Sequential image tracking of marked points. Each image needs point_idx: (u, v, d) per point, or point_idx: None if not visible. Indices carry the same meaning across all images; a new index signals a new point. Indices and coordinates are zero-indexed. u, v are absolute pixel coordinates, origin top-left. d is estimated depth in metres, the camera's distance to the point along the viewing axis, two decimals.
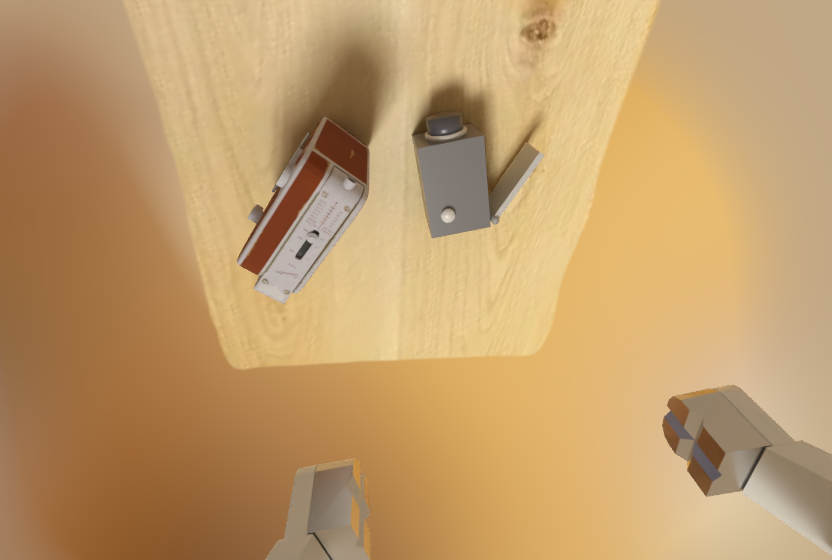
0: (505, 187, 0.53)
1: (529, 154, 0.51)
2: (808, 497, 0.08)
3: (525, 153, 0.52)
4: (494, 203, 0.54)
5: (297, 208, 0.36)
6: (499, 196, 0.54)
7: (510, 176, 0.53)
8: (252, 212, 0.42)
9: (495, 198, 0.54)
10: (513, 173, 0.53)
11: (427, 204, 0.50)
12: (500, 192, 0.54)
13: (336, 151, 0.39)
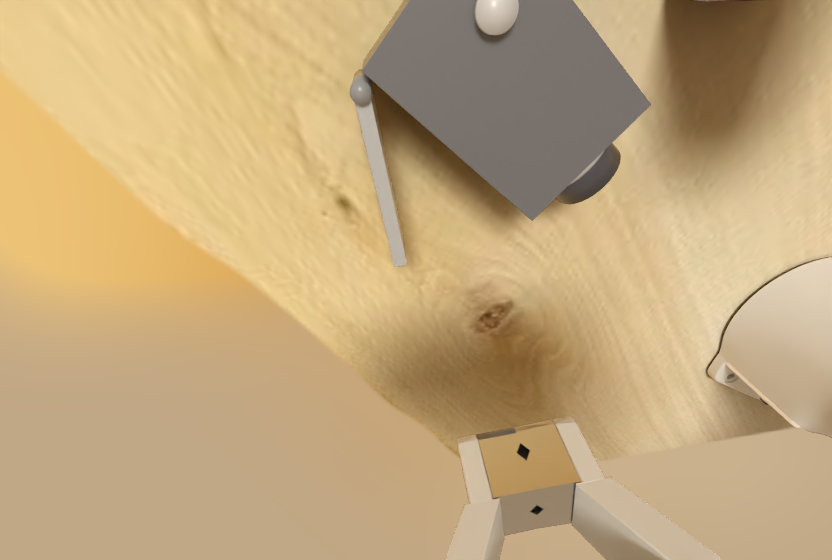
0: (385, 159, 0.23)
1: (402, 237, 0.26)
2: (611, 534, 0.08)
3: (400, 226, 0.26)
4: (375, 113, 0.21)
5: None
6: None
7: None
8: None
9: (377, 121, 0.22)
10: (392, 189, 0.24)
11: None
12: (381, 140, 0.23)
13: None
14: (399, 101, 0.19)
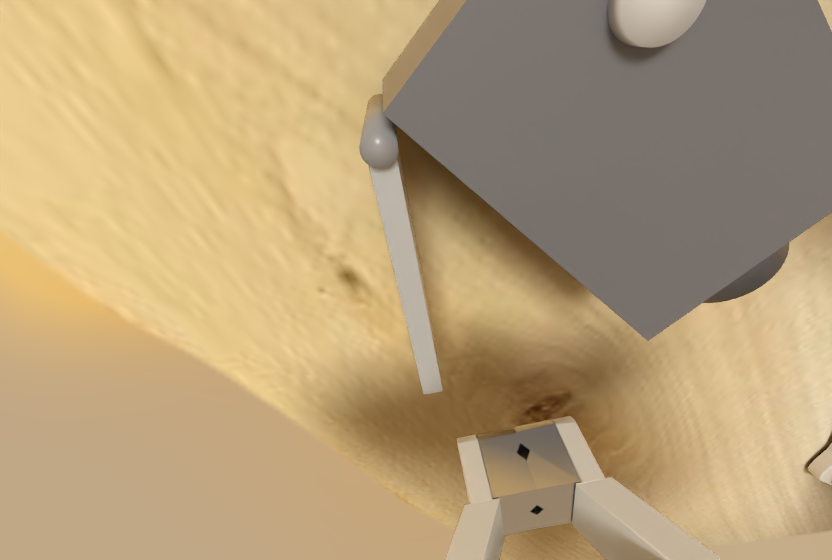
0: None
1: (434, 341, 0.17)
2: (611, 534, 0.08)
3: (430, 320, 0.18)
4: None
5: None
6: (407, 202, 0.14)
7: None
8: None
9: None
10: (421, 275, 0.16)
11: None
12: (408, 209, 0.14)
13: None
14: (449, 165, 0.10)
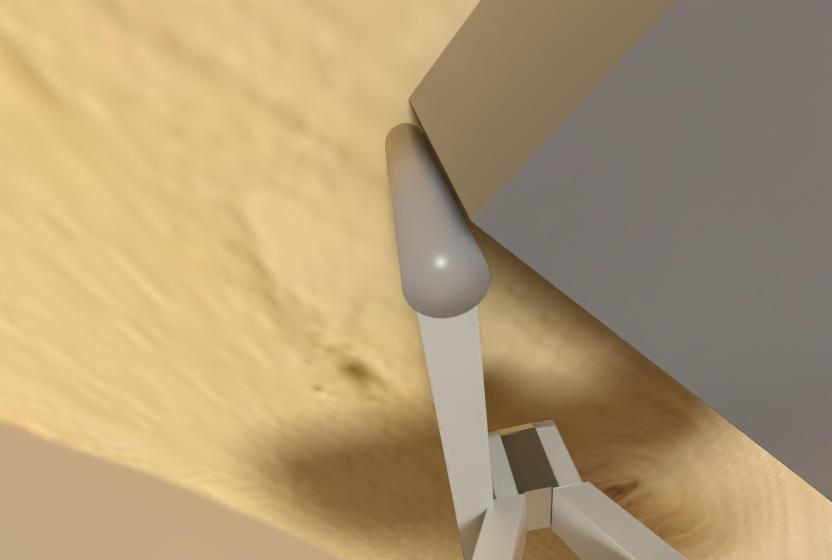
0: None
1: None
2: (587, 539, 0.08)
3: None
4: None
5: None
6: None
7: None
8: None
9: None
10: None
11: None
12: None
13: None
14: (610, 318, 0.04)
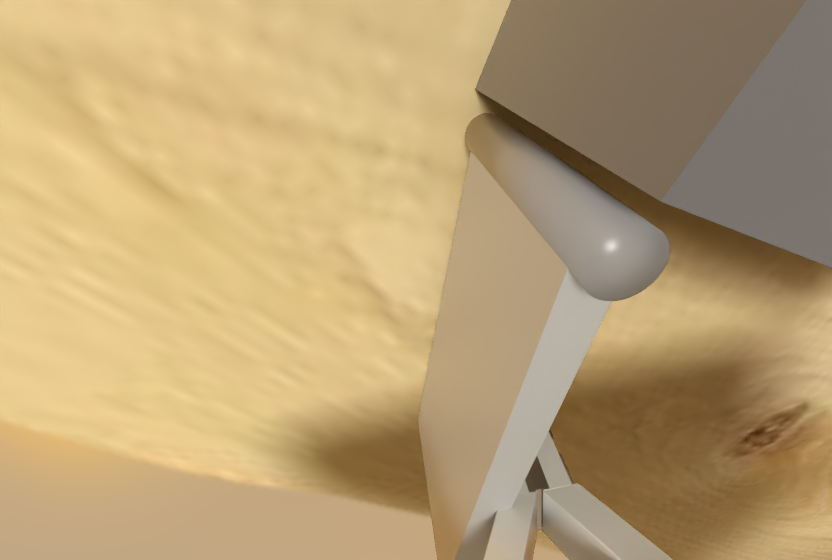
0: None
1: None
2: (577, 541, 0.08)
3: None
4: None
5: None
6: None
7: None
8: None
9: None
10: None
11: None
12: None
13: None
14: (819, 252, 0.04)
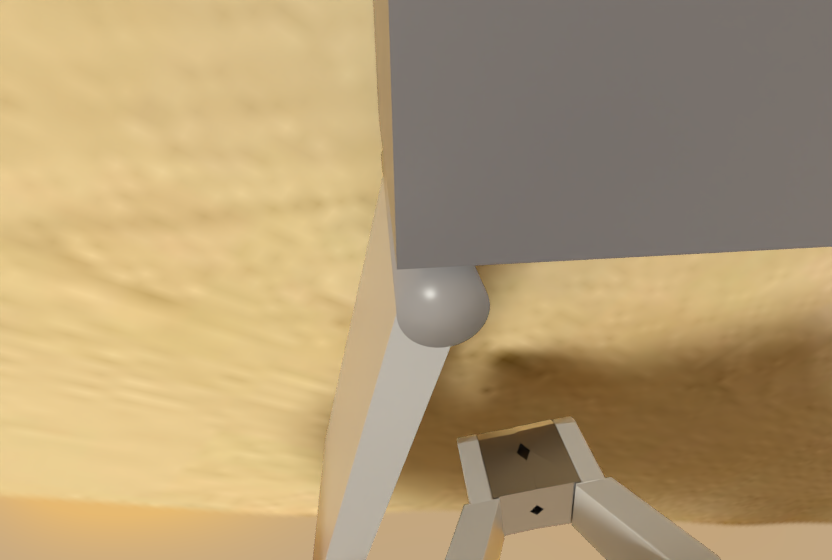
0: None
1: None
2: (611, 534, 0.08)
3: None
4: None
5: None
6: None
7: None
8: None
9: None
10: None
11: None
12: None
13: None
14: (633, 248, 0.03)
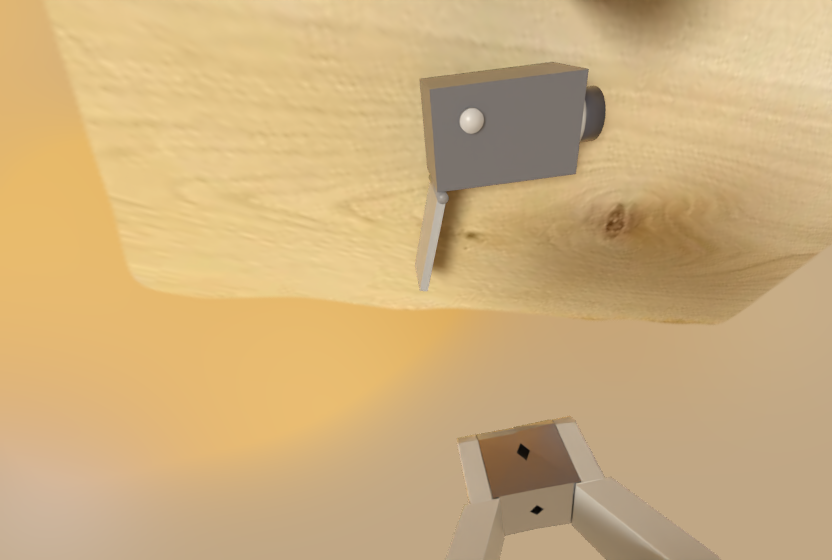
0: None
1: None
2: (611, 534, 0.08)
3: None
4: None
5: None
6: None
7: None
8: None
9: None
10: None
11: (494, 83, 0.29)
12: None
13: None
14: (461, 188, 0.33)
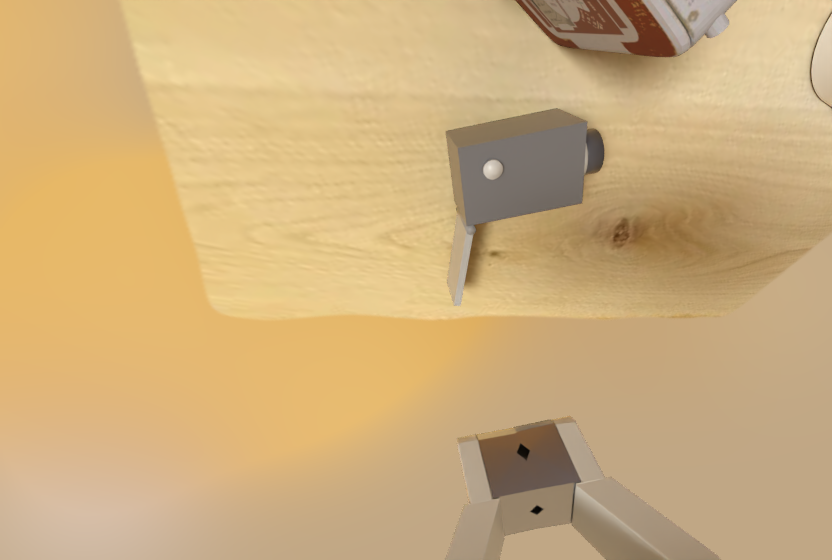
0: None
1: None
2: (611, 534, 0.08)
3: None
4: None
5: None
6: None
7: None
8: None
9: None
10: None
11: (510, 138, 0.36)
12: None
13: None
14: (486, 221, 0.40)
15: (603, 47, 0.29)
